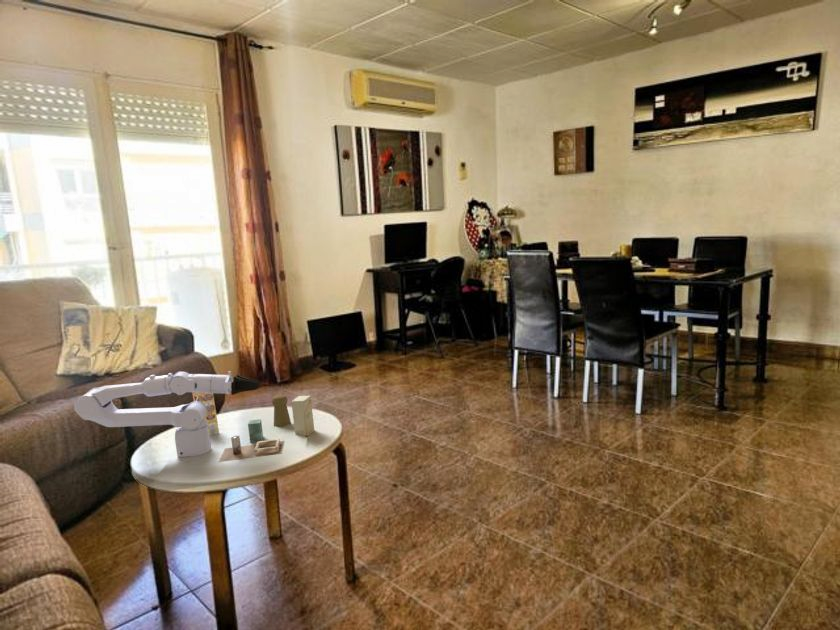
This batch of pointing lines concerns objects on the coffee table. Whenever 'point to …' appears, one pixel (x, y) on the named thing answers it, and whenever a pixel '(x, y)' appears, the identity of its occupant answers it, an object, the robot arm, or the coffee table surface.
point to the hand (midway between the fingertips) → (258, 385)
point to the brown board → (254, 450)
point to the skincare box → (303, 415)
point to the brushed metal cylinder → (236, 445)
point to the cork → (280, 411)
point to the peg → (255, 430)
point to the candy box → (208, 410)
